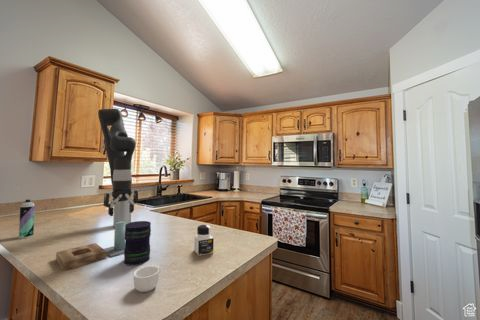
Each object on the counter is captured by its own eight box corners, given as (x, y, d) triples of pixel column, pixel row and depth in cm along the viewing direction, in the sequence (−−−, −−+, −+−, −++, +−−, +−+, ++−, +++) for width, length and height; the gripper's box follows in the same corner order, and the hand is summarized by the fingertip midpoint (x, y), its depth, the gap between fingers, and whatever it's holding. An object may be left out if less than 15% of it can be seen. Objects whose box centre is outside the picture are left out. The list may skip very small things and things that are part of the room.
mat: (126, 244, 105) (126, 242, 105) (136, 250, 98) (136, 248, 98) (101, 250, 97) (101, 249, 97) (110, 257, 90) (110, 256, 90)
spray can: (16, 237, 111) (18, 199, 112) (30, 234, 116) (31, 198, 117) (22, 239, 109) (23, 200, 110) (35, 236, 114) (37, 199, 115)
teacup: (146, 298, 63) (146, 279, 63) (127, 292, 66) (127, 274, 66) (168, 281, 72) (169, 265, 73) (151, 276, 75) (151, 261, 75)
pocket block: (95, 249, 98) (95, 243, 98) (106, 258, 89) (106, 251, 89) (55, 259, 87) (56, 252, 87) (63, 270, 78) (64, 262, 78)
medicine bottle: (198, 256, 92) (198, 228, 93) (193, 250, 99) (194, 224, 99) (213, 253, 96) (214, 226, 96) (208, 247, 102) (208, 223, 102)
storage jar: (132, 268, 81) (133, 228, 81) (118, 261, 86) (119, 224, 87) (155, 258, 89) (156, 223, 90) (141, 253, 95) (142, 219, 95)
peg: (122, 246, 101) (123, 221, 101) (126, 248, 98) (127, 222, 98) (112, 249, 97) (113, 222, 98) (116, 251, 94) (117, 224, 95)
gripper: (134, 178, 106) (133, 210, 106) (102, 179, 95) (101, 215, 95) (141, 179, 101) (140, 212, 101) (108, 180, 90) (107, 218, 90)
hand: (121, 214), depth 98 cm, fingers open, 8 cm apart
